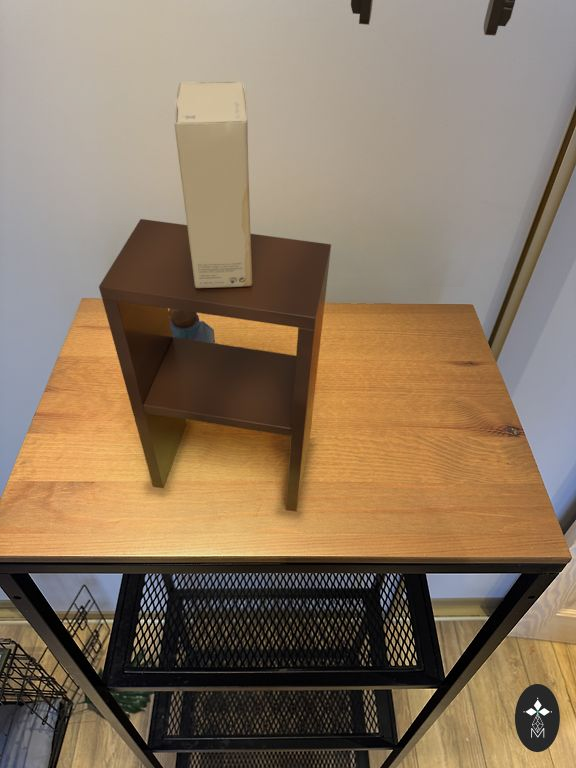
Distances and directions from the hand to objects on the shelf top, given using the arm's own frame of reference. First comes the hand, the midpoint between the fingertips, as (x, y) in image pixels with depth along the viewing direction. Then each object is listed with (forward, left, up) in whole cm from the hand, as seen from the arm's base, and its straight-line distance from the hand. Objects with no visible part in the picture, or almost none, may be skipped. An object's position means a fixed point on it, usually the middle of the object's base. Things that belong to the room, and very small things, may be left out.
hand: (426, 26), depth 40 cm
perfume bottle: (+21, 0, -42) cm, 47 cm away
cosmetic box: (+12, +11, -14) cm, 22 cm away
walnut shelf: (+13, +11, -42) cm, 45 cm away
